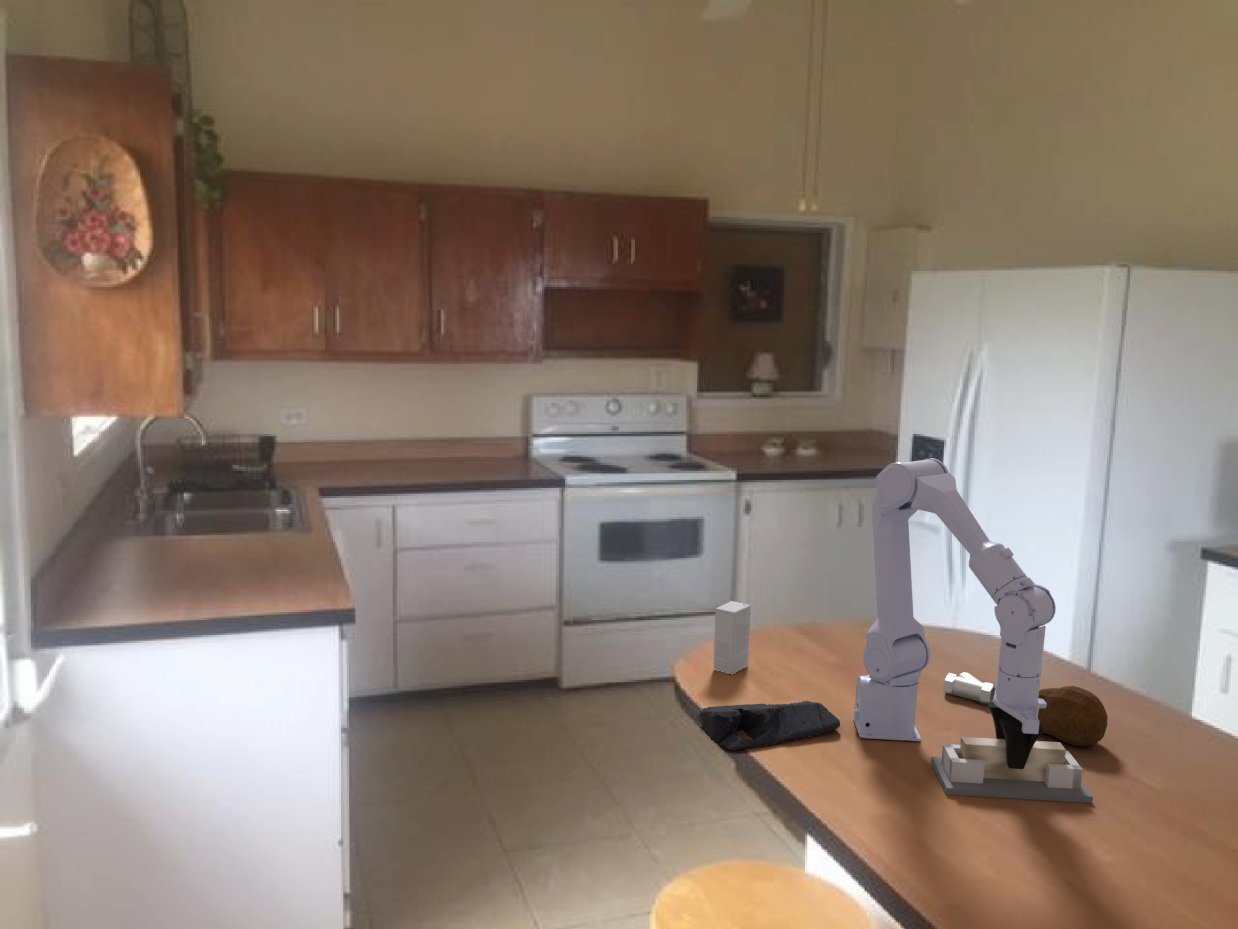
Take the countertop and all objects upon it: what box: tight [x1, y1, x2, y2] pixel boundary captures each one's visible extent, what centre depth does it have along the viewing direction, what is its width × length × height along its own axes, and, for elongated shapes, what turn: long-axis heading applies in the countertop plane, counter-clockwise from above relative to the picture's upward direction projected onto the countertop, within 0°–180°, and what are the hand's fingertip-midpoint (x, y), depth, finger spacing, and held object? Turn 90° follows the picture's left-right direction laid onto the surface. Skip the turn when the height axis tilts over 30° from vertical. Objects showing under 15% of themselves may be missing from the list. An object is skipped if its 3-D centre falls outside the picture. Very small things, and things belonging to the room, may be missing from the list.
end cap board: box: [930, 743, 1094, 804], centre depth 153 cm, size 20×10×4 cm, turn 86°
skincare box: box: [713, 600, 751, 676], centre depth 194 cm, size 6×4×12 cm
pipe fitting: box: [943, 672, 995, 706], centre depth 185 cm, size 8×4×7 cm
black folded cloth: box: [695, 700, 841, 752], centre depth 170 cm, size 15×22×5 cm
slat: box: [959, 736, 1067, 782], centre depth 152 cm, size 14×2×5 cm, turn 86°
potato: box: [1038, 685, 1108, 747], centre depth 168 cm, size 8×12×9 cm
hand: (1010, 760), depth 152 cm, fingers open, 4 cm apart
